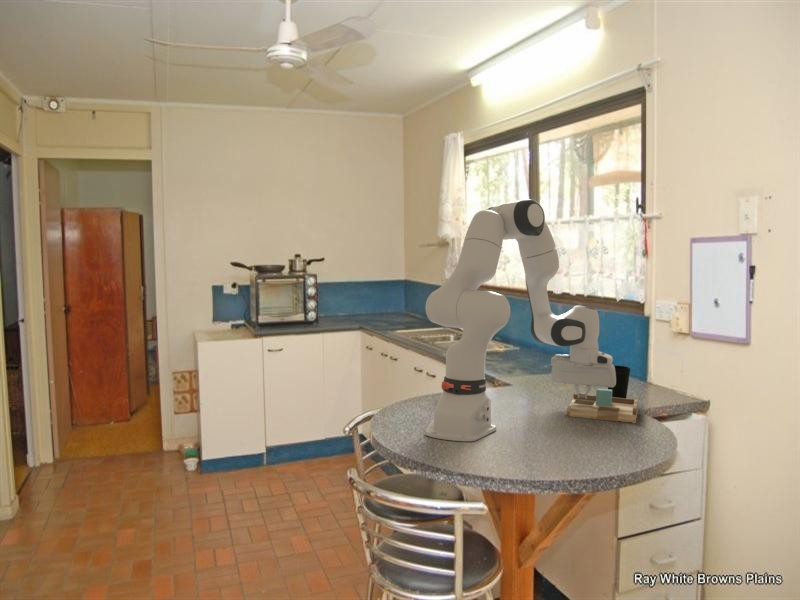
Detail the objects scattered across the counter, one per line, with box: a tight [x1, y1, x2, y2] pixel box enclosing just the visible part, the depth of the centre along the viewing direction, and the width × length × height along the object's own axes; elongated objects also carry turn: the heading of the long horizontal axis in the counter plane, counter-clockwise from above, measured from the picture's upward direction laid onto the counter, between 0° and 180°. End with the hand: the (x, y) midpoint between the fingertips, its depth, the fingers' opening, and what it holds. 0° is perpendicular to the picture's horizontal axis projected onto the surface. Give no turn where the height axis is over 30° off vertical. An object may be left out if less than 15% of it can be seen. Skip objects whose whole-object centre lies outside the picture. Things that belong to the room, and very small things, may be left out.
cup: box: [607, 364, 631, 399], centre depth 215 cm, size 8×8×12 cm
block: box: [595, 388, 612, 406], centre depth 199 cm, size 4×4×4 cm
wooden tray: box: [566, 393, 639, 424], centre depth 197 cm, size 16×20×4 cm
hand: (582, 398), depth 202 cm, fingers closed
